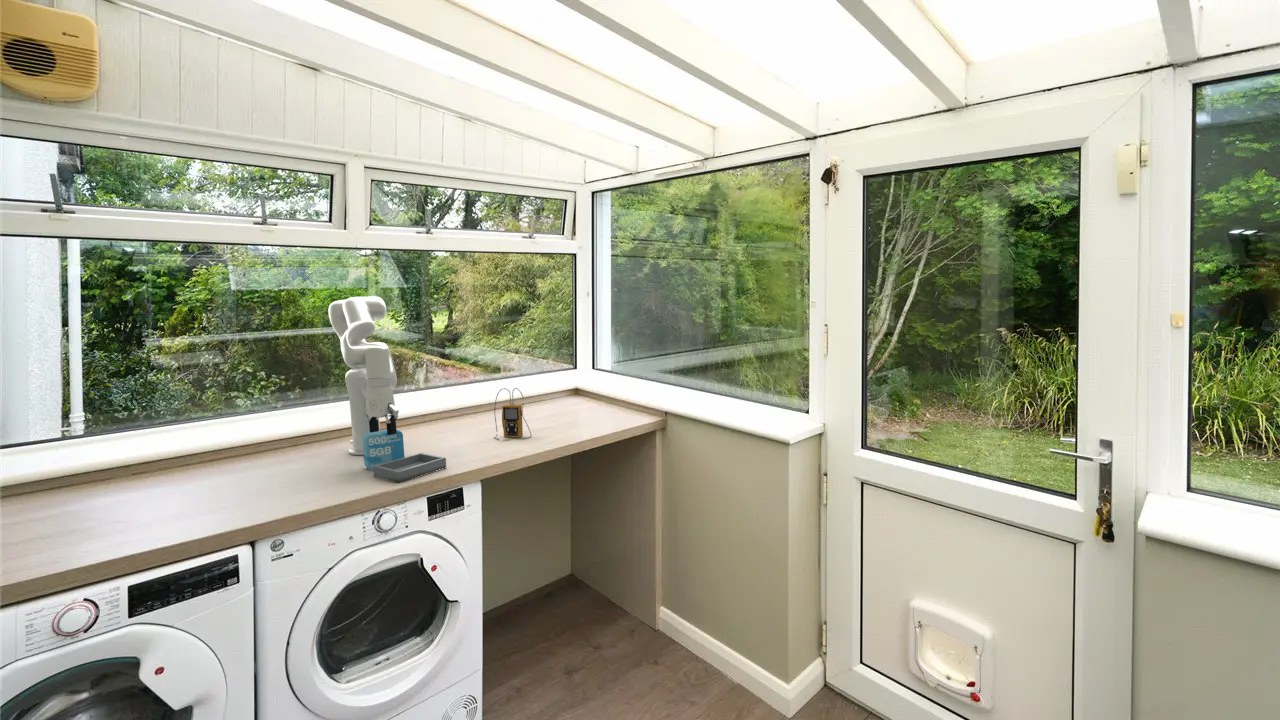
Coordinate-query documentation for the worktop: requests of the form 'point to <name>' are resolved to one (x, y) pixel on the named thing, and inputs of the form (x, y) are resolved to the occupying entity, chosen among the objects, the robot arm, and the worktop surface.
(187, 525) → the worktop surface
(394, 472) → the parts tray
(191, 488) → the worktop surface
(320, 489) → the worktop surface
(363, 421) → the robot arm
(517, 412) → the multimeter
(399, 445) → the data package
